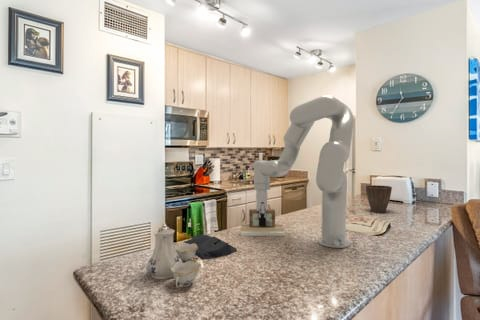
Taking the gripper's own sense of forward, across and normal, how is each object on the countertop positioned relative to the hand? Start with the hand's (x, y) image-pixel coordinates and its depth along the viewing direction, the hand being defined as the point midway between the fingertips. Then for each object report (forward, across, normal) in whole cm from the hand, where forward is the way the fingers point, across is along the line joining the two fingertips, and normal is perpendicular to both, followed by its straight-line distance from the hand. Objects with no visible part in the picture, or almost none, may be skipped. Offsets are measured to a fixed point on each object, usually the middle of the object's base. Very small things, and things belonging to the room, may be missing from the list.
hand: (262, 224), depth 134 cm
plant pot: (+4, -46, +75) cm, 88 cm away
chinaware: (+4, +46, -30) cm, 55 cm away
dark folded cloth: (+5, +23, -22) cm, 32 cm away
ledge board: (+4, 0, 0) cm, 4 cm away
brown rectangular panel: (+1, 0, 0) cm, 1 cm away
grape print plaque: (+5, -13, +49) cm, 51 cm away
